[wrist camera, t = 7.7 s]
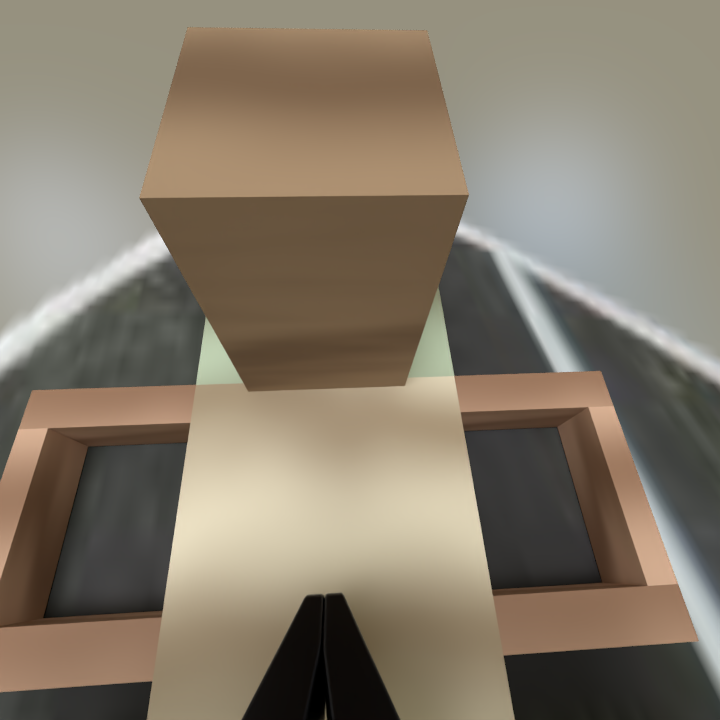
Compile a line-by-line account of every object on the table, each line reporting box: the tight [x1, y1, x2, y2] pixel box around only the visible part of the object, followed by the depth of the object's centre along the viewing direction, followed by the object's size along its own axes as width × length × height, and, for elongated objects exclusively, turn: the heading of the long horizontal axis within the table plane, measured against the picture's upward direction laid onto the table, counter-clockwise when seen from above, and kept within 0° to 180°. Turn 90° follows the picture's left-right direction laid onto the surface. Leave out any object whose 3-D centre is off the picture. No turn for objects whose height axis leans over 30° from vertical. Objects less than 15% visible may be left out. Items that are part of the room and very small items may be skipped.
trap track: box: [0, 287, 699, 720], centre depth 14 cm, size 26×22×2 cm
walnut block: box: [140, 27, 469, 392], centre depth 13 cm, size 6×6×9 cm
